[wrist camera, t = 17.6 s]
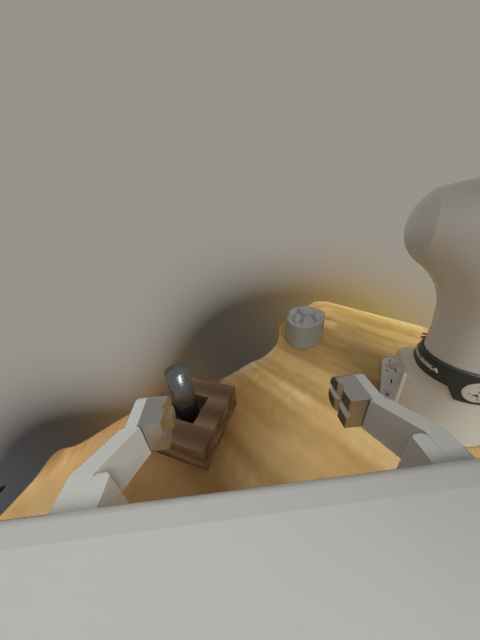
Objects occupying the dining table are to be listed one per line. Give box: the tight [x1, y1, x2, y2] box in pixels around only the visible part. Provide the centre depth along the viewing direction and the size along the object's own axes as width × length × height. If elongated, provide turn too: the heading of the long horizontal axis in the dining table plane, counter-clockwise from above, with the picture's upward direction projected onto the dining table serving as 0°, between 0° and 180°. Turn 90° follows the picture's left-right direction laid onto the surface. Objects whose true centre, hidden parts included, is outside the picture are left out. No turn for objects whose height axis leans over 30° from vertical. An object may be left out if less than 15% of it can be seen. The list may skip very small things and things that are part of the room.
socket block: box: [156, 378, 237, 470], centre depth 43 cm, size 14×14×5 cm
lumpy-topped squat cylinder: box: [286, 306, 325, 349], centre depth 66 cm, size 10×13×9 cm
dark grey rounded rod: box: [165, 363, 200, 424], centre depth 40 cm, size 4×4×13 cm
